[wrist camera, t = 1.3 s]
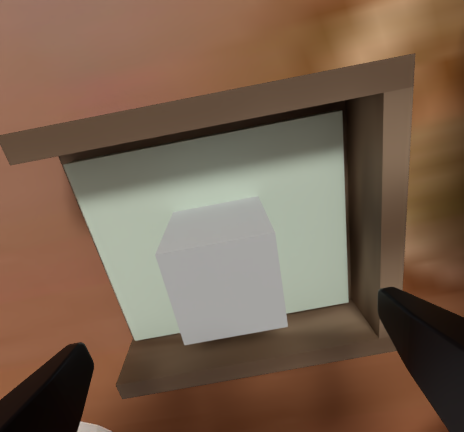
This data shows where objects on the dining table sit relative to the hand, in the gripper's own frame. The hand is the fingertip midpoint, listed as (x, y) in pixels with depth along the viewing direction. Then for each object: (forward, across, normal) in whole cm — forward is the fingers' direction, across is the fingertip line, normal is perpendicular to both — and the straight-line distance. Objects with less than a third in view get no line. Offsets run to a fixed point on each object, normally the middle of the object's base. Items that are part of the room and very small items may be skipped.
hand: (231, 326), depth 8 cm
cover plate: (+6, 0, 0) cm, 6 cm away
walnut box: (+7, 0, 0) cm, 7 cm away
